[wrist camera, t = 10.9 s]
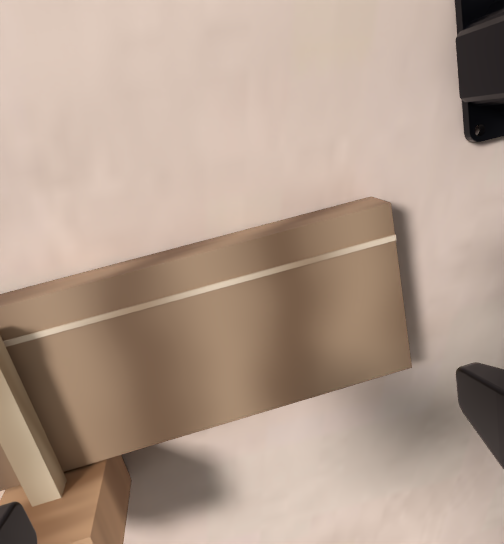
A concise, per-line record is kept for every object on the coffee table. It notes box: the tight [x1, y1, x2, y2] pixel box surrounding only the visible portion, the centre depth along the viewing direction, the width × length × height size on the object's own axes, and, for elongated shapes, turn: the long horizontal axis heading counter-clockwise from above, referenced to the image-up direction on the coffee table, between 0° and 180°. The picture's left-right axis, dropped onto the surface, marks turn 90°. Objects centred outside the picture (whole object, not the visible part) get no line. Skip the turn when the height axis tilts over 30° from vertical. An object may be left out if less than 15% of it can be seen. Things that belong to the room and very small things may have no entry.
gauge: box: [0, 336, 131, 544], centre depth 18 cm, size 4×11×6 cm, turn 13°
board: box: [0, 197, 412, 491], centre depth 20 cm, size 22×8×2 cm, turn 103°
